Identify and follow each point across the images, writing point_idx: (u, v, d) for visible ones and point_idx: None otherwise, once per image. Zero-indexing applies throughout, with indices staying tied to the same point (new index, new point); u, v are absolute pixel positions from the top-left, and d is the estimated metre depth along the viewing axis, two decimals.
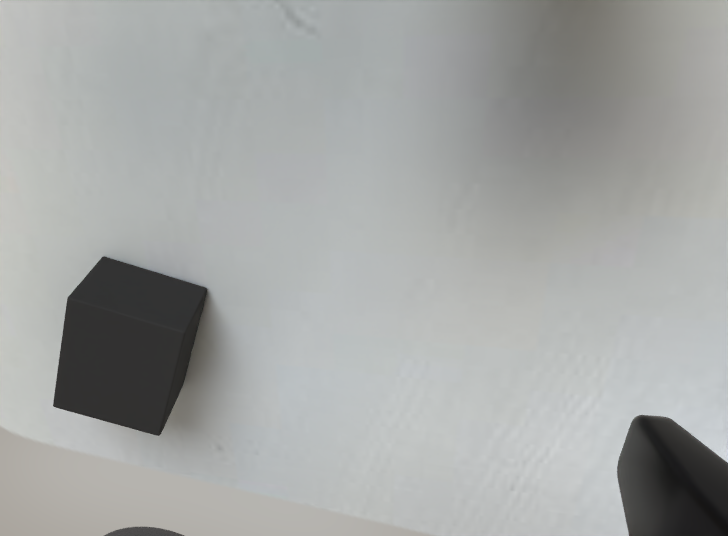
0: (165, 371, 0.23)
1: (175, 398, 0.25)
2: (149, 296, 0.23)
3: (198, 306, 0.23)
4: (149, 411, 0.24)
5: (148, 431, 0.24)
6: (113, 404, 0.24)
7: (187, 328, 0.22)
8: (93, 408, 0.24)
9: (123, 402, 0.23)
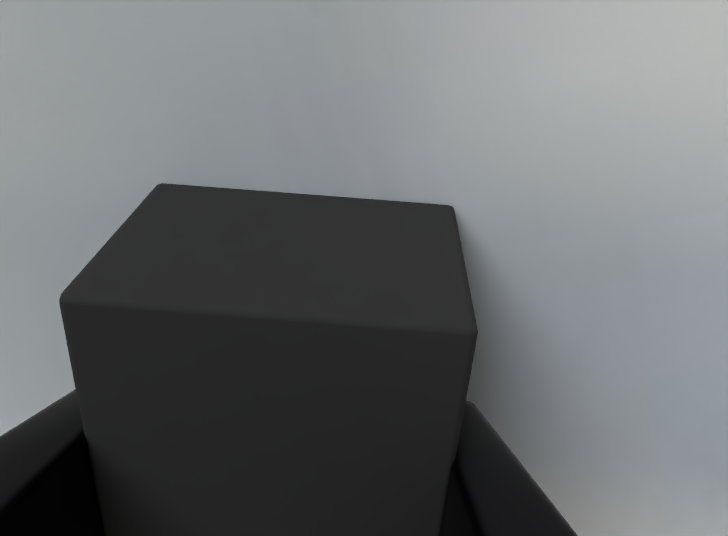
0: (421, 471, 0.07)
1: None
2: (315, 249, 0.07)
3: (460, 250, 0.08)
4: None
5: None
6: None
7: (472, 316, 0.06)
8: None
9: None
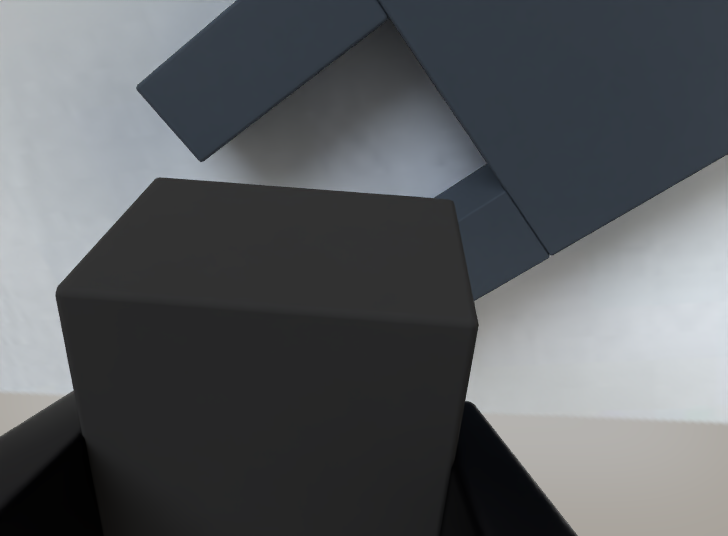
0: (421, 467, 0.07)
1: None
2: (314, 242, 0.07)
3: None
4: None
5: None
6: None
7: (473, 309, 0.06)
8: None
9: None
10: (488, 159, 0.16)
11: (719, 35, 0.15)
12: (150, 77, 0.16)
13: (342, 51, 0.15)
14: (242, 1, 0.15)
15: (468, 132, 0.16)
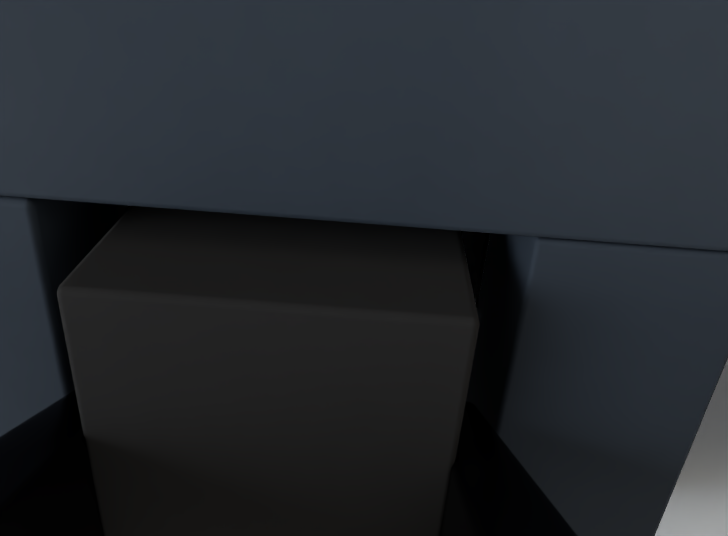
0: (422, 466, 0.07)
1: None
2: (315, 241, 0.07)
3: None
4: None
5: None
6: None
7: (474, 308, 0.06)
8: None
9: None
10: (439, 225, 0.07)
11: None
12: None
13: (48, 307, 0.07)
14: None
15: (355, 220, 0.07)
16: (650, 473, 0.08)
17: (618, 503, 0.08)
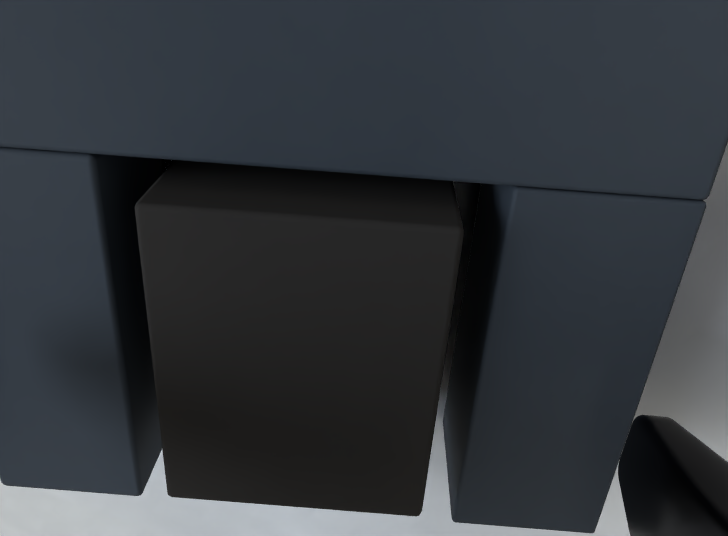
0: (420, 354, 0.09)
1: None
2: (333, 177, 0.09)
3: None
4: (389, 466, 0.10)
5: (393, 511, 0.10)
6: (302, 464, 0.10)
7: None
8: (258, 482, 0.10)
9: (325, 455, 0.10)
10: (433, 175, 0.08)
11: None
12: None
13: (103, 249, 0.09)
14: None
15: (363, 172, 0.08)
16: (615, 396, 0.09)
17: (588, 424, 0.10)
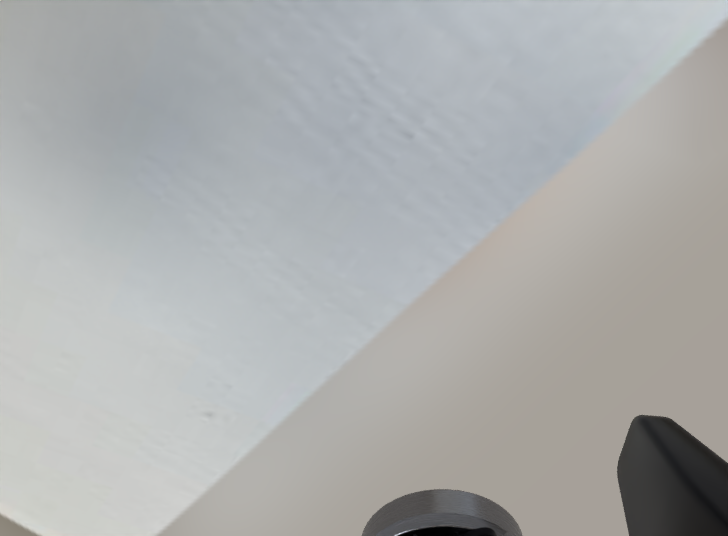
0: None
1: None
2: None
3: None
4: None
5: None
6: None
7: None
8: None
9: None
10: None
11: None
12: None
13: None
14: None
15: None
16: None
17: None
